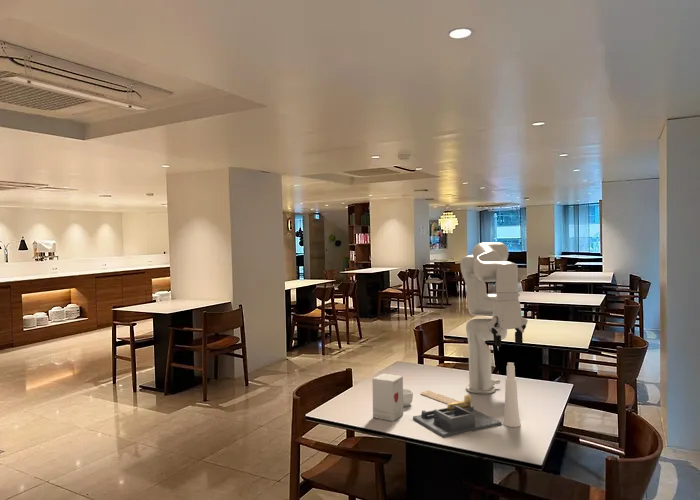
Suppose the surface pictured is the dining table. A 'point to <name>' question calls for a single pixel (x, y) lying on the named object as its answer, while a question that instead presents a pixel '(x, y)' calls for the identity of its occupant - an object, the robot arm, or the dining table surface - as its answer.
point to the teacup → (407, 397)
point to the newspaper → (438, 397)
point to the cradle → (455, 420)
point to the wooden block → (461, 403)
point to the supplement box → (387, 397)
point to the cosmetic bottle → (511, 399)
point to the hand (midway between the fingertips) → (508, 344)
